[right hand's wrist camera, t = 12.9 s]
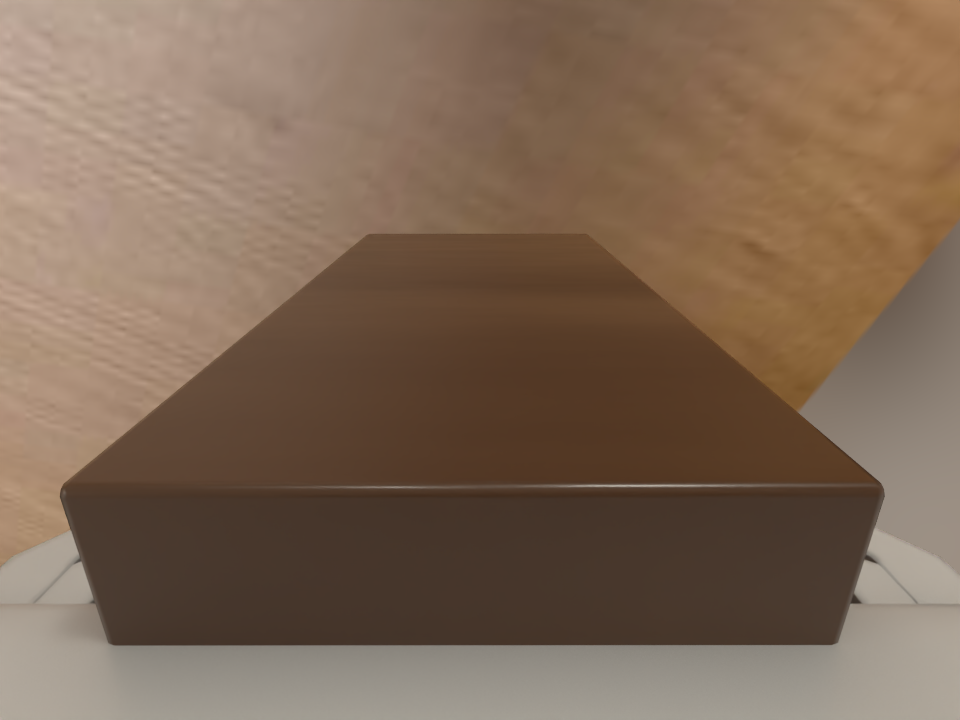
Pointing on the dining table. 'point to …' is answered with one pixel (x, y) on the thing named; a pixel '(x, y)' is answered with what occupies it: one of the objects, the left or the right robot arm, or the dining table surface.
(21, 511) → the dining table surface
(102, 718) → the right robot arm
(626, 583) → the box
